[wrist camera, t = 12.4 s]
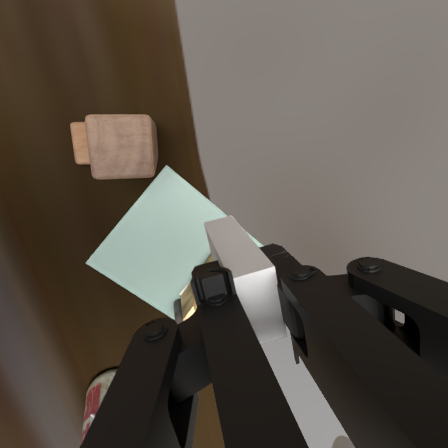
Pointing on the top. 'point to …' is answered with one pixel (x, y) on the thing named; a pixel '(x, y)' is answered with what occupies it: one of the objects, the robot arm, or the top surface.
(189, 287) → the fence panel
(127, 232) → the board
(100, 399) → the bottle
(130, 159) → the wooden block
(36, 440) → the top surface
